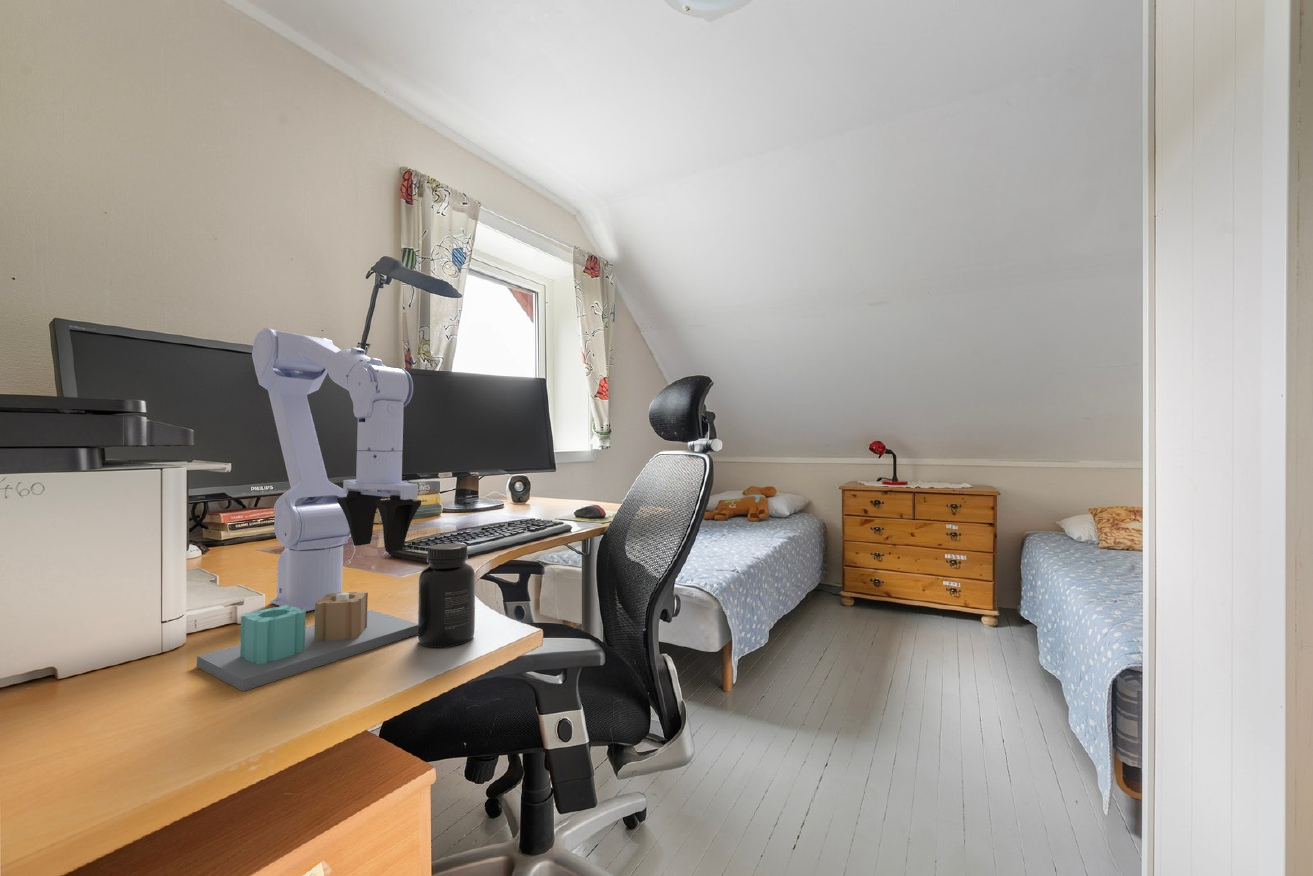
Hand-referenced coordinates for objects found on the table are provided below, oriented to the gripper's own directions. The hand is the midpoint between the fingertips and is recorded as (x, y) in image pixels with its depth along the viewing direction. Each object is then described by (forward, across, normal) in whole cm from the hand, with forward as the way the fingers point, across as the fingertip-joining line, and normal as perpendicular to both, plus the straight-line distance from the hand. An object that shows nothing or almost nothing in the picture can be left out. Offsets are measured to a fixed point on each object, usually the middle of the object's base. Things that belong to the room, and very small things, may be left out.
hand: (377, 547), depth 75 cm
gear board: (+10, +4, -10) cm, 15 cm away
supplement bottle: (+11, +14, +1) cm, 17 cm away
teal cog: (+9, +4, -15) cm, 18 cm away
